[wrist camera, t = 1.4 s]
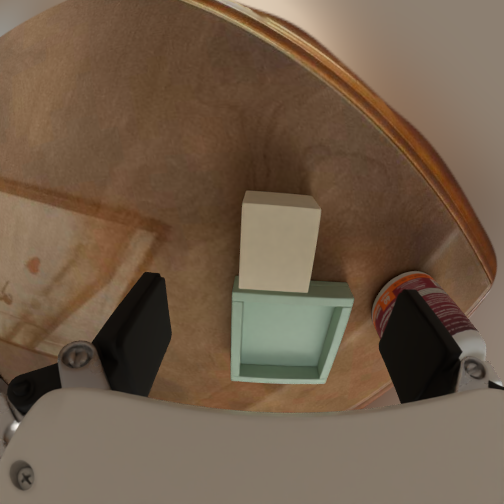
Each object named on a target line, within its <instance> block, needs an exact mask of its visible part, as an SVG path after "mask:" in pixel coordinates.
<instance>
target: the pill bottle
mask: <svg viewBox="0 0 504 504" xmlns="http://www.w3.org/2000/svg"><path fill="white" fill-rule="evenodd" d="M404 289H414V290H417V291H418V292H419V294H420V295H421V296H422V297H423V299H424V300H425V301H426V302H427V304H428V305H429V306H430V307H431V309H432V310H433V311H434V313H435V314H436V315H437V317H438V318H439V319H440V321H441V322H442V323H443V325H444V326H445V327H446V329H447V330H448V331H449V333H450V334H451V336H452V337H453V338H454V340H455V341H456V343H457V344H458V346H459V347H460V349H461V350H462V351H463V352H462V354H461V355H460V357H459V359H460V361H461V360H462V359H463V358H464V357H466V356H473V357H476V358H478V359H480V360H481V361H482V362H483V363H484V364H485V365H486V366H487V369H488V372H489V380H490V381H492V382H494V383H496V384H498V385H500V386H502V381H501V380H500V378H499V376H498V375H497V373H496V372H495V370H494V367H493V366H492V365H491V363H490V362H489V361H485V357H486V345H485V342H484V340H483V338H482V336H481V335H480V334H479V332H478V331H477V329H476V328H475V327H474V326H473V324H472V323H471V322H470V320H469V319H468V318H467V317H466V316H465V314H464V313H463V312H462V311H461V310H460V308H459V307H458V306H457V305H456V304H455V303H454V301H453V300H452V299H451V298H450V297H449V296H448V294H447V293H446V292H445V291H444V290H443V289H442V288H441V287H440V285H439V284H438V283H437V282H436V281H435V280H434V279H433V278H432V277H431V276H429V275H428V274H426V273H424V272H419V271H411V272H406V273H403V274H401V275H399V276H397V277H395V278H393V279H392V280H390V281H389V282H388V283H387V284H386V285H385V286H384V287H383V288H382V290H381V291H380V292H379V294H378V295H377V297H376V299H375V301H374V304H373V307H372V321H373V324H374V326H375V329H376V331H377V333H378V335H379V337H380V339H381V337H382V335H383V332H384V330H385V328H386V325H387V323H388V320H389V317H390V315H391V312H392V309H393V307H394V304H395V301H396V298H397V296H398V294H399V293H401V292H402V290H404Z"/></svg>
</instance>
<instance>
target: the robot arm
mask: <svg viewBox="0 0 504 504" xmlns="http://www.w3.org/2000/svg"><path fill="white" fill-rule="evenodd" d="M171 335H172V331H171V324H170V317H169V310H168V302H167V294H166V285H165V279H164V278H163V277H161V276H160V274H159V273H151V272H145V273H144V274H143V275H142V276H141V278H140V279H139V280H138V281H137V283H136V284H135V285H134V286H133V288H132V289H131V290H130V292H129V293H128V294H127V296H126V297H125V298H124V299H123V301H122V302H121V303H120V304H119V306H118V307H117V308H116V310H115V311H114V312H113V314H112V315H111V316H110V318H109V319H108V320H107V322H106V323H105V325H104V326H103V327H102V329H101V330H100V332H99V333H98V334H97V336H96V337H95V339H94V340H93V342H92V343H90V342H87V341H74V342H71V343H69V344H67V345H66V346H64V347H63V348H62V349H61V351H60V352H59V355H58V363H56V364H53V365H50V366H47V367H44V368H41V369H38V370H35V371H31V372H28V373H25V374H22V375H19V376H17V377H15V378H14V379H13V380H12V381H11V382H10V384H9V386H8V389H7V394H6V395H4V393H3V392H2V393H1V394H0V504H504V387H502V386H500V385H498V384H496V383H494V382H492V381H490V380H489V372H488V369H487V366H486V365H485V364H484V363H483V362H482V361H481V360H480V359H478V358H476V357H473V356H466V357H464V358H463V359H462V360H461V361H460V359H459V357H460V355H461V354H462V352H463V351H462V350H461V349H460V347H459V346H458V344H457V343H456V341H455V340H454V338H453V337H452V336H451V334H450V333H449V331H448V330H447V329H446V327H445V326H444V325H443V323H442V322H441V321H440V319H439V318H438V317H437V315H436V314H435V313H434V311H433V310H432V309H431V307H430V306H429V305H428V304H427V302H426V301H425V300H424V299H423V297H422V296H421V295H420V294H419V292H418V291H417V290H414V289H404V290H402V292H401V293H399V294H398V296H397V298H396V301H395V304H394V307H393V309H392V312H391V315H390V317H389V320H388V323H387V325H386V328H385V330H384V332H383V335H382V337H381V340H380V342H379V351H380V353H381V355H382V358H383V360H384V362H385V365H386V367H387V369H388V372H389V374H390V377H391V379H392V382H393V384H394V387H395V389H396V392H397V394H398V397H399V400H400V402H401V404H398V405H392V406H385V407H377V408H369V409H360V410H349V411H336V412H314V413H273V412H251V411H237V410H226V409H217V408H208V407H201V406H194V405H187V404H181V403H175V402H169V401H163V400H158V399H153V398H148V395H149V392H150V389H151V387H152V384H153V382H154V379H155V377H156V374H157V372H158V369H159V367H160V364H161V362H162V359H163V357H164V354H165V352H166V350H167V347H168V345H169V342H170V340H171Z"/></svg>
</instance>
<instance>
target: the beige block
mask: <svg viewBox="0 0 504 504" xmlns="http://www.w3.org/2000/svg"><path fill="white" fill-rule="evenodd" d="M320 217H321V208H320V207H319V205H318V204H317V202H316V201H315V200H314V198H313V197H312V196H309V195H298V194H287V193H275V192H262V191H246V193H245V196H244V199H243V203H242V219H241V240H240V263H239V288H240V289H254V290H268V291H284V292H301V293H308V289H309V283H310V278H311V273H312V267H313V261H314V255H315V249H316V243H317V237H318V231H319V224H320Z"/></svg>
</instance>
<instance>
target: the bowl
mask: <svg viewBox="0 0 504 504" xmlns="http://www.w3.org/2000/svg"><path fill="white" fill-rule="evenodd" d="M7 389H8V385H7V384H6V383H5V382H4V381H3V380H2V379H1V378H0V394H1V393H2V392H3V393H4V395H6V394H7Z"/></svg>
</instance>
